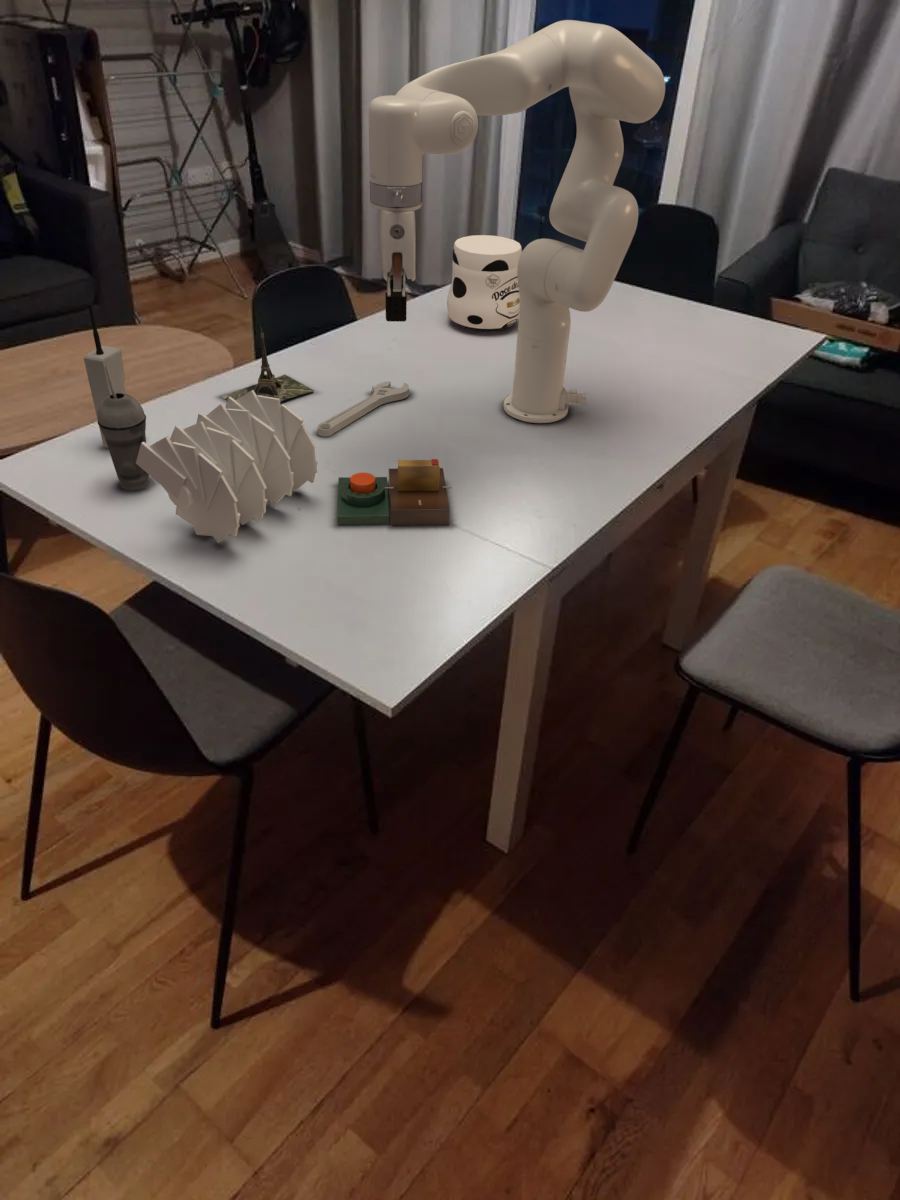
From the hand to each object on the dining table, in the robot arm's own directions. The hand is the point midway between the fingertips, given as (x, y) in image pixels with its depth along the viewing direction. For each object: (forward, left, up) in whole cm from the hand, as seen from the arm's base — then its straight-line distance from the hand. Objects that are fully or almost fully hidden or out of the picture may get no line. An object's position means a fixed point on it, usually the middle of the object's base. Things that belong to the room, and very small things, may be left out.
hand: (396, 319), depth 139 cm
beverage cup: (+43, +7, -25) cm, 50 cm away
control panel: (-3, +15, -25) cm, 29 cm away
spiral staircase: (+25, +16, -25) cm, 39 cm away
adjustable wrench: (+6, -20, -25) cm, 33 cm away
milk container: (-23, -66, -25) cm, 74 cm away
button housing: (+6, +15, -25) cm, 30 cm away
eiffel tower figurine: (+24, -27, -25) cm, 44 cm away
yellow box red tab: (-3, +15, -22) cm, 27 cm away
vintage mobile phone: (+48, -7, -25) cm, 55 cm away
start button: (+6, +15, -22) cm, 27 cm away
